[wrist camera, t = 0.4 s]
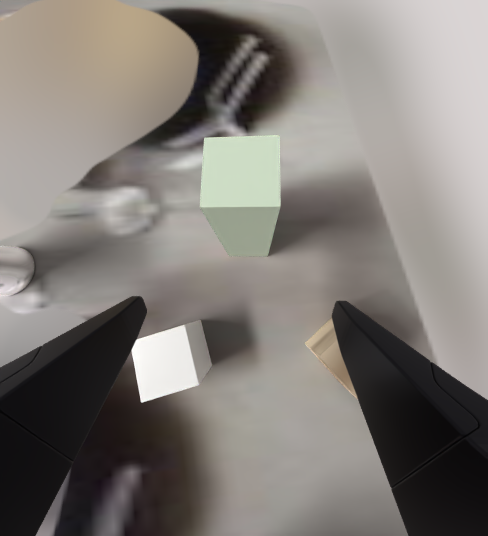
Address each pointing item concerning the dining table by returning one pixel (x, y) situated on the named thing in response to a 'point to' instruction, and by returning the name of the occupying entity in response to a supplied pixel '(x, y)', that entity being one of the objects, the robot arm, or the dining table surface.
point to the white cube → (171, 360)
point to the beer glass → (15, 269)
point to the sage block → (242, 191)
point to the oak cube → (330, 354)
